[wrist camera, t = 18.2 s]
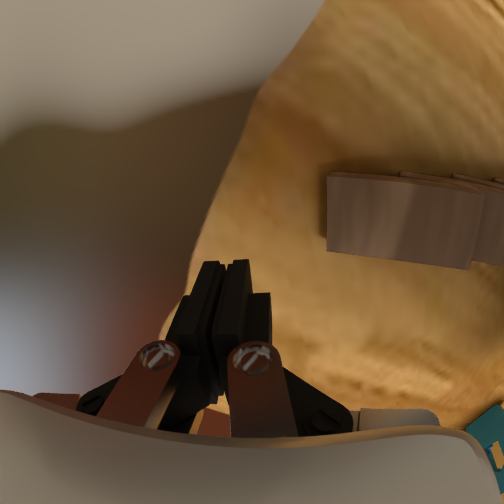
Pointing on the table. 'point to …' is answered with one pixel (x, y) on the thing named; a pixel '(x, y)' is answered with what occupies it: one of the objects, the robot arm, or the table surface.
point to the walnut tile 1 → (402, 219)
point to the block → (490, 437)
